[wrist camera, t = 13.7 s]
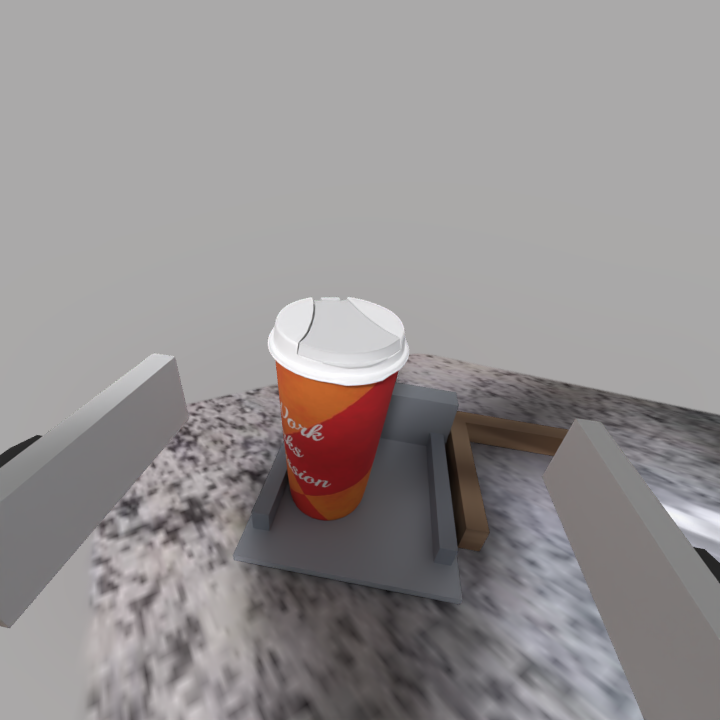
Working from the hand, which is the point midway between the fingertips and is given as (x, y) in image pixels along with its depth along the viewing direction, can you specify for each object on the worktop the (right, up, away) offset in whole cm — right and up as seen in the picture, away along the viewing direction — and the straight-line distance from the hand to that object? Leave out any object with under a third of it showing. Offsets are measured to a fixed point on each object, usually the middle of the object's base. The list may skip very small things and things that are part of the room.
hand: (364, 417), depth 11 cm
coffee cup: (-3, -8, +16) cm, 18 cm away
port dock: (0, -9, +17) cm, 19 cm away
